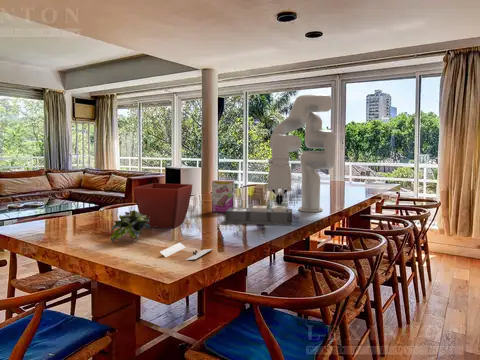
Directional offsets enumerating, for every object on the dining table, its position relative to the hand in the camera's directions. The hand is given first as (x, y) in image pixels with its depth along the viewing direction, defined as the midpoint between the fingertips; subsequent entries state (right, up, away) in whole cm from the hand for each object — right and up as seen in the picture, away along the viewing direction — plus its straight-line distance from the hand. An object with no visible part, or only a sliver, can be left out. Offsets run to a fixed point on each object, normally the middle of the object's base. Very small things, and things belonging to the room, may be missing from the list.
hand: (279, 204), depth 161 cm
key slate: (-18, -6, +4) cm, 19 cm away
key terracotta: (-9, -4, +2) cm, 10 cm away
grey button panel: (-9, -8, +2) cm, 12 cm away
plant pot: (-49, -9, -7) cm, 51 cm away
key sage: (0, -5, +1) cm, 5 cm away
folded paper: (-34, -13, -49) cm, 61 cm away
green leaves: (-56, -11, -33) cm, 66 cm away
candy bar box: (-26, -6, +27) cm, 38 cm away
